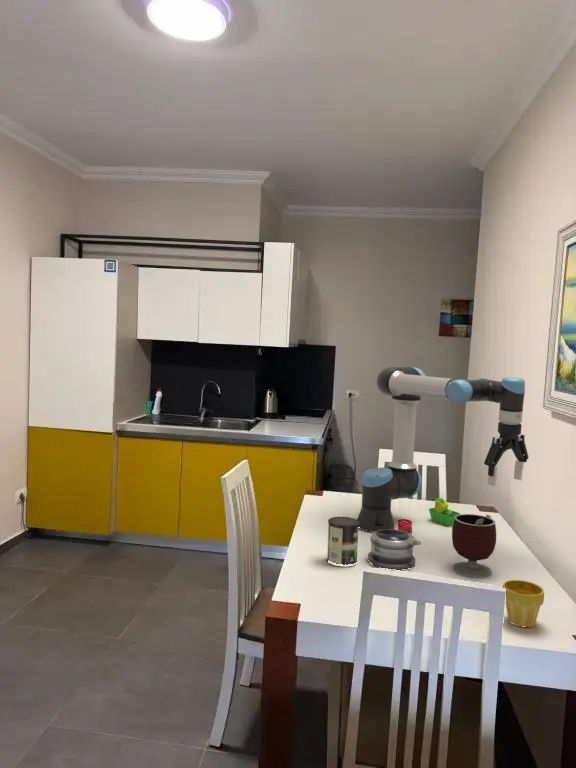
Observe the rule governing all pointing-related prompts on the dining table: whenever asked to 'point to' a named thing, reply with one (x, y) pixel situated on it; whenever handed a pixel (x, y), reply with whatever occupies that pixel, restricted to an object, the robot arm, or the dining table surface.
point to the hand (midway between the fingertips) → (504, 482)
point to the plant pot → (523, 601)
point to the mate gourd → (473, 543)
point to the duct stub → (392, 549)
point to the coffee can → (342, 540)
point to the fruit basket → (442, 513)
